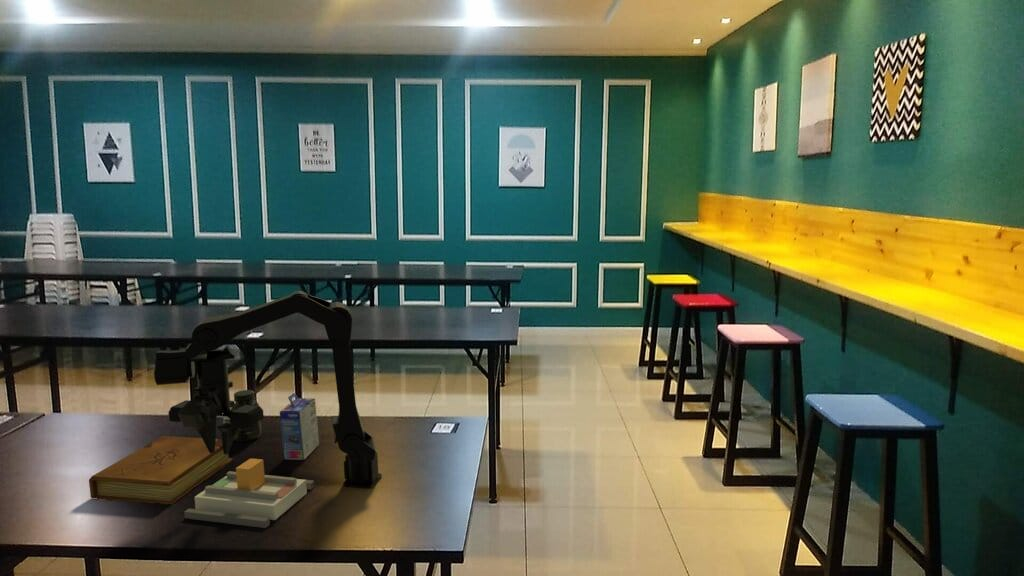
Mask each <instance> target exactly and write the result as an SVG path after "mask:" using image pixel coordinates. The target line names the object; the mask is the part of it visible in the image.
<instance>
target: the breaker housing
mask: <svg viewBox="0 0 1024 576" xmlns="http://www.w3.org/2000/svg"><path fill="white" fill-rule="evenodd" d="M264 476H265V483H263V484H262V485H261V486H259V487H258V488H257V489H255V490H247V489H238V488H237V476H236V471H230V470H229V471H227V472H226V476H223V477H222V478H221V479H219V480H218V481H216V482H215V483H214V484H211V485H206V486H205V487H204V490H203V491H201V492H200V493H198V494H197V495H195V496H194V505H195V508H194V509H199V510H207V511H216V512H224V513H233V514H241V515H250V516H258V517H267V518H269V519H270V520H271V521H276V520H278V519H279V517H280V516H283V514H284V513H285V512H287V511H288V510H289V509H290V508H291V507H293V506H294V505H295V504H296V503H297V502H298V501H300V500H301V499H302V498H303V497H304V496H306V495H307V494H308V492H307V491H308V489H307V487H306V480H307V479H303V480H302V479H299V478H296V477H291V476H290V477H288V476H281V475H280V476H279V475H269V474H264Z"/></svg>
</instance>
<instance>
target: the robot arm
mask: <svg viewBox="0 0 1024 576" xmlns="http://www.w3.org/2000/svg"><path fill="white" fill-rule="evenodd" d="M294 314H301V315H303V316H304V317H306V318H308V319H310V320H311V321H314V322H316V323H317V324H321V325H323V326H324V328H325V329H324V330H325V332H326V335H327V339H328V341H329V344H330V347H331V349H332V357H333V366H334V373H335V374H334V375H335V382H336V391H337V400H338V402H337V403H338V413H337V415H331V420H332V428H333V441H334V443H333V444H337V446H338V448H339V450H340V451H341V452H343V453H344V454H345V456H344V458H345V460H344V461H343V474H344V475H343V476H344V477H343V478H344V479H345V480H344V481H343V483H342V485H343V486H345V487H356V488H365V489H370V488H371V487H372V486H374V485H375V484H376V483H377V482H378V481H379V479H381V478H382V473H379V458H378V456H379V455H378V452H377V450H376V446H375V445H376V444H375V441H374V437H373V436H372V435H370V434H369V433H368V432H367V431H365V430H364V426H363V423H362V419H361V416H360V414H359V411H358V408H357V403H356V396H355V395H356V393H355V385H354V384H355V383H354V374H353V368H352V359H351V357H352V356H351V349H350V348H351V340H352V339H351V338H352V329H353V328H352V325H353V316H352V313H351V310H350V308H349V306H348V305H346V304H345V303H343V302H340V301H335V302H330V301H328V300H325V299H322V298H319V297H316V296H313V295H311V294H308V293H307V292H306V291H302V290H295V291H293V292H292V293H290V294H287V295H285V296H283V297H279V298H276V299H274V300H271V301H268V302H266V303H263V304H260V305H257V306H254V307H251V308H248V309H245V310H244V311H240V312H237V313H236V312H235V313H231V314H230V313H229V314H221V315H216V316H215V315H214V316H210V317H206V318H204V319H202V320H200V322H199V323H198V324H197V325H196V326H195V327H194V329H193V331H192V333H191V339H192V340H191V341H192V342H191V343H188V345H187V346H186V347H185V349H178V350H175V349H174V350H166V349H165V350H161V349H160V350H158V351H157V352H155V361H154V370H153V376H154V377H153V378H154V381H155V384H156V385H157V386H166V385H176V384H177V385H178V384H179V385H180V384H186V383H189V382H190V378H195V373H196V375H197V386H196V387H195V388H193V397H192V399H190V400H189V399H188V400H183V401H181V402H179V403H177V404H175V405H171V407H170V408H169V410H168V413H167V414H168V421H169V422H176V423H181V424H182V427H185V428H188V427H191V428H193V429H194V430H196V431H197V432H198V434H199V435H200V438H202V439H203V441H204V443H205V445H206V447H207V449H208V451H209V453H213V452H214V451H215V444H216V439H217V438H216V437H217V429H218V430H219V431H220V433H221V439H222V445H223V452H224V454H225V455H226V454H228V455H229V452H230V450H231V449H232V446H233V444H234V443H233V442H234V440H235V439H234V438H235V435H236V433H237V431H238V429H239V427H243V428H246V427H250V426H251V425H253V424H255V423H257V422H258V421H260V422H261V421H262V420H263V419H264V418H265V416H264V409H263V408H262V407H261V405H259V406H254V405H244V406H242V407H240V408H238V409H236V410H231V407H233V406H234V403H235V401H234V400H231V397H230V388H233V387H234V383H233V381H229V372H228V360H233V359H235V358H236V356H237V354H238V353H237V351H236V350H235V349H232V348H231V347H230V345H229V344H227V343H229V342H230V341H232V340H233V339H235V338H236V337H238V336H240V335H241V334H243V333H245V332H248V331H251V330H253V329H257V328H259V327H261V326H265V325H267V324H270V323H273V322H276V321H278V320H280V319H284V318H286V317H289V316H292V315H294ZM225 344H226V345H225ZM223 345H225V346H224V348H223V349H218V348H220V347H221V346H223ZM203 352H206V353H205V354H202V353H203ZM195 364H196V367H195ZM195 369H196V370H195ZM217 419H222V420H223V422H222V424H219V425H218V426H217Z"/></svg>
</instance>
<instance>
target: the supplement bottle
mask: <svg viewBox="0 0 1024 576" xmlns="http://www.w3.org/2000/svg"><path fill="white" fill-rule="evenodd" d="M255 399H256V398H255V393H254V391H253V390H252V389H242V390H239V391H235V392H234V393H233V401H234V406H233V407H231V410H236V409H238V408H240V407H242V406H244V405H254V406H260V405H259V402H258V401H257V400H255ZM261 423H262V422H261V420H260V421H258V422H257V423H255V424H253V425H251V426H250V427H246V428H243V427H239V429H238V431H237V433H236V435H235V438H234V440H235V441H236V442H244V443H245V442H250V441H255V440H257V439H259V438H260V437H261V435H262V425H261Z"/></svg>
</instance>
